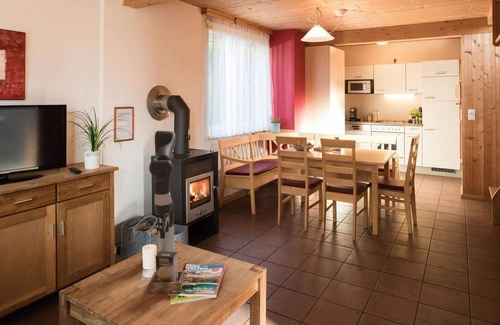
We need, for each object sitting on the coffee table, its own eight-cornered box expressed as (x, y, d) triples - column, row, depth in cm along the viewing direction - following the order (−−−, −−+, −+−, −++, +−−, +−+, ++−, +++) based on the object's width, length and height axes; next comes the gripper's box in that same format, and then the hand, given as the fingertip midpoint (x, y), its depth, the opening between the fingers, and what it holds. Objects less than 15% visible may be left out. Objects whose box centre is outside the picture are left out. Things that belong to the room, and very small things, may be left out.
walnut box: (149, 293, 174) (148, 283, 173) (155, 280, 186) (154, 271, 185) (180, 292, 175) (180, 282, 174) (184, 280, 186) (184, 271, 186)
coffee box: (156, 287, 178) (154, 256, 175) (161, 280, 184) (159, 250, 181) (174, 288, 177) (172, 257, 174) (178, 281, 183) (177, 251, 180)
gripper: (158, 198, 180) (160, 229, 183) (151, 206, 166) (153, 240, 169) (173, 197, 180) (175, 229, 183) (167, 206, 166) (169, 240, 169)
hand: (164, 234), depth 176 cm, fingers open, 8 cm apart
